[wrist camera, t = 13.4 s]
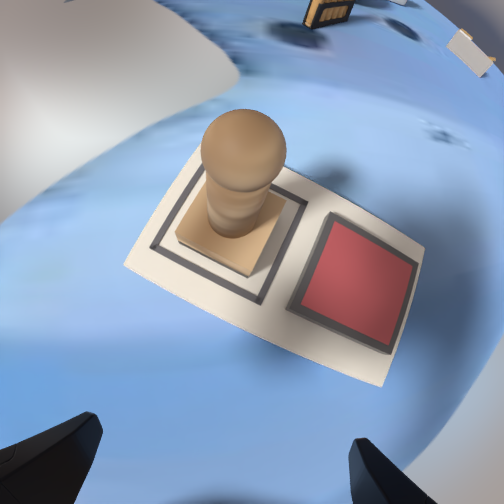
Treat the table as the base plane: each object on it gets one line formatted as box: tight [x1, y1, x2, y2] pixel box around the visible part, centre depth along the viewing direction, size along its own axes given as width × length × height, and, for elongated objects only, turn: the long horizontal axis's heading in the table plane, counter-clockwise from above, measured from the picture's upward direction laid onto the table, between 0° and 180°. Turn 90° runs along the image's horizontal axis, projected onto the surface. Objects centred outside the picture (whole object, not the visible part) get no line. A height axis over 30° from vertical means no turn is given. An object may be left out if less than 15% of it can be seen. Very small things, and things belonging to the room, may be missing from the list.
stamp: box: [175, 109, 287, 278], centre depth 16 cm, size 6×6×12 cm
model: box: [446, 29, 495, 78], centre depth 38 cm, size 3×11×8 cm, turn 47°
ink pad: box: [285, 211, 419, 355], centre depth 21 cm, size 9×8×1 cm
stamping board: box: [123, 143, 425, 387], centre depth 22 cm, size 22×13×2 cm, turn 64°
